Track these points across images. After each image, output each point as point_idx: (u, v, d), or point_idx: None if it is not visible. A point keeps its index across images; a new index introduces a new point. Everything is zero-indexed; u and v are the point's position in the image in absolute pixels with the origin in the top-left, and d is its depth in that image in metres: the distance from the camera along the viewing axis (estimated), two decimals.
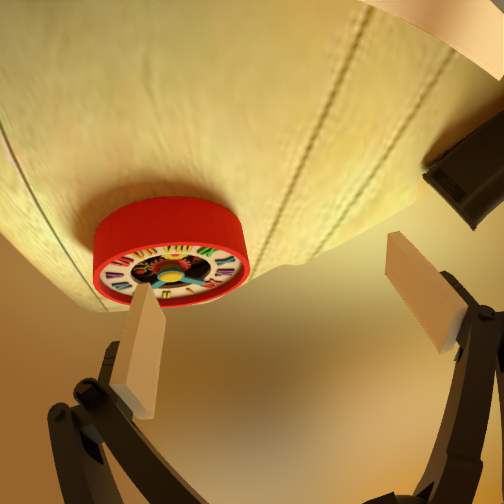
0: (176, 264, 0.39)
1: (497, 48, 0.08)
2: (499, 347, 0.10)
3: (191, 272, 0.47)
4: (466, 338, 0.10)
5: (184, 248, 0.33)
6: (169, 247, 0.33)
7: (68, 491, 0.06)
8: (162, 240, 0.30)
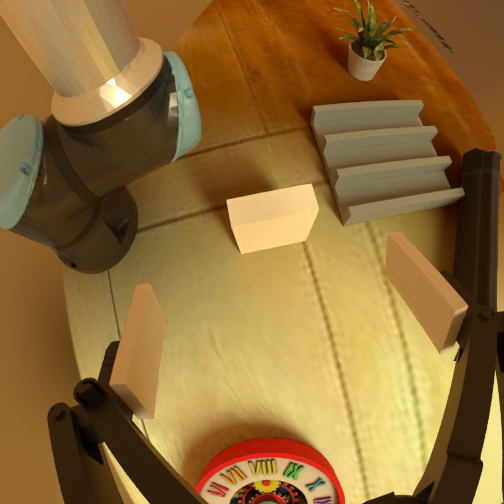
0: (272, 500, 0.31)
1: (299, 200, 0.32)
2: (499, 347, 0.10)
3: None
4: (466, 338, 0.10)
5: (269, 469, 0.32)
6: (256, 470, 0.32)
7: (68, 491, 0.06)
8: (245, 454, 0.32)
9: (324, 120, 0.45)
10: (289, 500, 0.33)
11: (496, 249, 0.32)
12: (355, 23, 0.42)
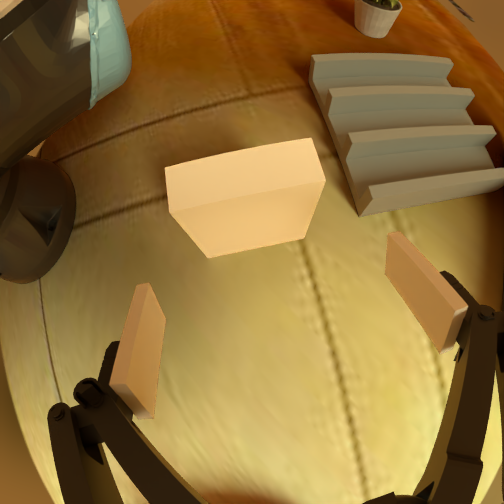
0: None
1: (291, 165, 0.18)
2: (499, 347, 0.10)
3: None
4: (466, 338, 0.10)
5: None
6: None
7: (68, 491, 0.06)
8: None
9: (327, 75, 0.31)
10: None
11: None
12: None
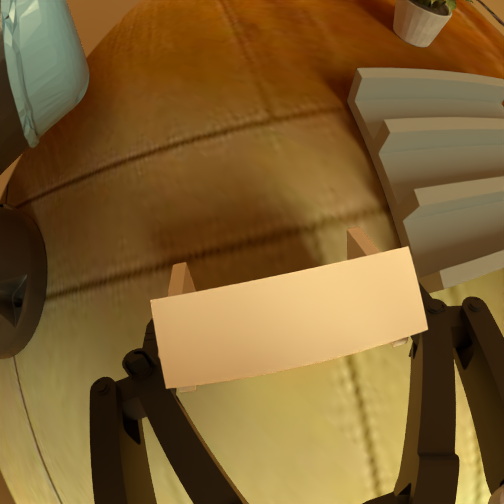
0: None
1: (378, 304, 0.10)
2: (453, 342, 0.11)
3: None
4: (418, 334, 0.11)
5: None
6: None
7: (99, 468, 0.07)
8: None
9: (374, 96, 0.23)
10: None
11: None
12: None
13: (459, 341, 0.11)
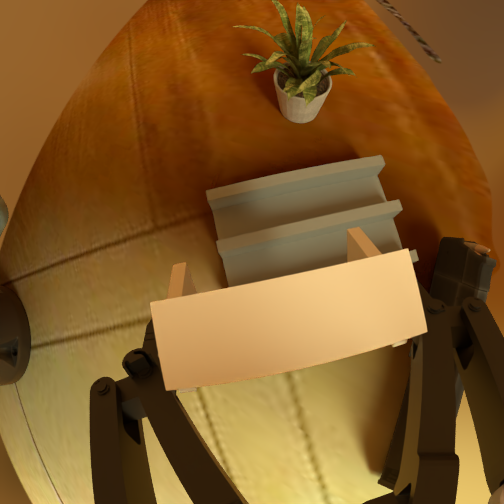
0: None
1: (377, 306, 0.10)
2: (453, 342, 0.11)
3: None
4: None
5: None
6: None
7: (99, 468, 0.07)
8: None
9: (227, 205, 0.34)
10: None
11: (456, 409, 0.22)
12: (282, 40, 0.31)
13: (459, 341, 0.11)
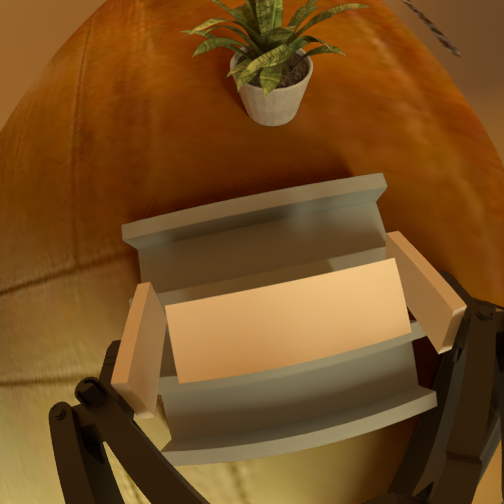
0: None
1: (366, 309, 0.11)
2: (497, 347, 0.10)
3: None
4: (465, 338, 0.10)
5: None
6: None
7: (69, 490, 0.06)
8: None
9: (156, 244, 0.24)
10: None
11: None
12: (243, 12, 0.21)
13: (503, 346, 0.10)
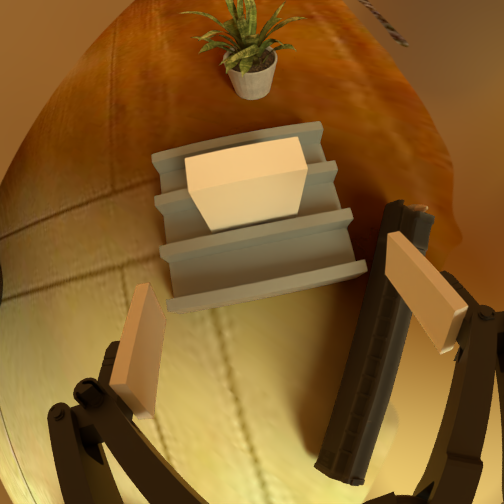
0: None
1: (281, 157, 0.23)
2: (499, 347, 0.10)
3: None
4: (466, 338, 0.10)
5: None
6: None
7: (68, 491, 0.06)
8: None
9: (172, 169, 0.36)
10: None
11: (390, 382, 0.23)
12: (231, 24, 0.33)
13: None
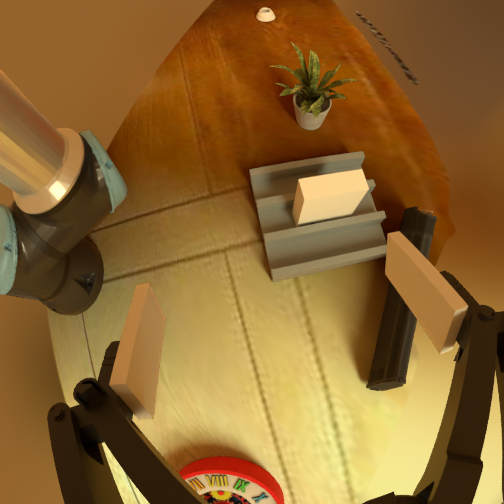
0: None
1: (354, 181, 0.39)
2: (499, 347, 0.10)
3: None
4: (466, 338, 0.10)
5: (222, 482, 0.39)
6: (211, 482, 0.39)
7: (68, 491, 0.06)
8: (201, 470, 0.39)
9: (262, 180, 0.52)
10: None
11: None
12: (300, 74, 0.49)
13: None
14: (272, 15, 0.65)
